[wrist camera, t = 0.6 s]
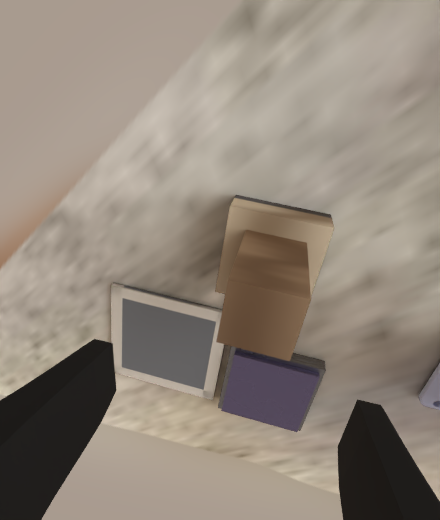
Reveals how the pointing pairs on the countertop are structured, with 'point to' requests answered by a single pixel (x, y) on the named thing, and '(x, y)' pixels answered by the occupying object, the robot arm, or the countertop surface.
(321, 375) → the ink pad
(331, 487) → the countertop surface
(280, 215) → the stamp
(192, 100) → the countertop surface
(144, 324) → the print mark
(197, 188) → the countertop surface
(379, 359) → the countertop surface
